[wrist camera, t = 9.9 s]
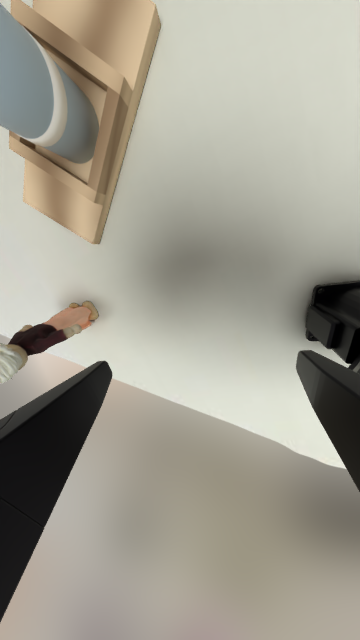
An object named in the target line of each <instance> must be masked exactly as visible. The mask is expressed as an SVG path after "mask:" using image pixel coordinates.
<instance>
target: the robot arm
mask: <svg viewBox="0 0 360 640" xmlns="http://www.w3.org/2000/svg"><path fill="white" fill-rule="evenodd" d="M319 289H322V291H321V292H318V291H319ZM306 328H307V332H306V338H307V339H308V340H309V341H320V342H321V343H322V344H323V345H324V346H325V347H326V348H327V349H332V350H333V351H334V352H335V353H336V354H338V355H339V356H340V357H341V358H342V359H343V360H344V361H345V362H346V363H347V364H351V365H350V366H349V367H348V368H346V367H344V366H342V365H340V364H338V363H336V362H334V361H332V360H330V359H328V358H326V357H324V356H322V355H320V354H318V353H316V352H314V351H311V350H303V351H299V352H298V357H297V364H296V370H297V373H298V375H299V377H300V380H301V382H302V384H303V387H304V389H305V391H306V394H307V396H308V398H309V401H310V403H311V405H312V407H313V409H314V411H315V413H316V415H317V417H318V418H319V420H320V422H321V424H322V426H323V427H324V429H325V431H326V433H327V435H328V436H329V438H330V440H331V442H332V443H333V445H334V447H335V449H336V451H337V452H338V454H339V456H340V458H341V459H342V461H343V463H344V465H345V467H346V468H347V470H348V472H349V474H350V475H351V477H352V479H353V481H354V483H355V484H356V486H357V488H358V490H359V492H360V281H352V282H343V283H334V284H324V285H318V286H316V287H315V288H314V290H313V296H312V302H311V306H310V307H309V309H308V315H307V321H306ZM311 336H313V337H311ZM310 337H311V338H310ZM111 379H112V371H111V369H110V367H109V365H108V363H107V362H106V361H98V362H96V363H94V364H93V365H91V366H89V367H88V368H86V369H84V370H83V371H81V372H80V373H78V374H76V375H75V376H73V377H71V378H69V379H68V380H66V381H65V382H63V383H61V384H59V385H58V386H56V387H54V388H53V389H51V390H49V391H48V392H46V393H44V394H43V395H41V396H39V397H37V398H36V399H34V400H33V401H31V402H29V403H27V404H26V405H24V406H22V407H21V408H19V409H18V410H16V411H14V412H12V413H11V414H9V415H7V416H6V417H4V418H2V419H1V420H0V622H1V620H2V618H3V616H4V613H5V611H6V609H7V607H8V605H9V603H10V600H11V598H12V596H13V594H14V592H15V590H16V588H17V586H18V583H19V581H20V579H21V577H22V575H23V573H24V570H25V569H26V566H27V564H28V562H29V560H30V558H31V556H32V554H33V551H34V549H35V547H36V545H37V543H38V541H39V539H40V537H41V534H42V532H43V530H44V527H45V525H46V523H47V521H48V519H49V517H50V515H51V513H52V510H53V508H54V506H55V504H56V502H57V500H58V498H59V496H60V493H61V491H62V489H63V487H64V485H65V483H66V480H67V479H68V476H69V474H70V472H71V470H72V468H73V466H74V464H75V462H76V459H77V457H78V455H79V453H80V451H81V449H82V447H83V444H84V442H85V440H86V438H87V436H88V434H89V432H90V429H91V427H92V425H93V423H94V421H95V419H96V417H97V415H98V413H99V410H100V408H101V406H102V403H103V400H104V398H105V395H106V393H107V390H108V387H109V384H110V382H111Z"/></svg>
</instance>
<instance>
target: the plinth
mask: <svg viewBox="0 0 360 640" xmlns="http://www.w3.org/2000/svg"><path fill="white" fill-rule="evenodd" d="M11 15H12V16H13V17H14V18H15V19H16V20H17V22H18V23H19V24H20V25H22V26H23V27H24V28H25V29H26V30H27V31H28V32H29V33H30V34H31V35H32V36H33V37H34V38H35V39H36V40H37V42H38V43H39V44H40V45H41V46H42V47H43V48H44V49H45V50H46V51H47V53H48V54H49V55H50V57H51V58H52V59H53V60H54V61H55V62H56V63H57V65H58V66H59V67H60V68H61V69H62V70H63V71H64V72H65V73H66V74H67V75H68V76H69V77H70V79H71V80H72V81H73V82H74V83H75V84H76V85H77V86H78V87H79V88H80V89H81V90H82V91H83V92H84V94H85V95H86V96H87V97H88V98H89V100H90V102H91V103H92V105H93V107H94V110H95V112H96V115H97V119H98V123H99V132H98V137H97V141H96V146H95V151H94V156H93V157H92V158H91V159H90V160H89V161H88V162H86V163H82V164H78V163H74V162H71V161H69V160H67V159H65V158H64V157H62V156H60V155H58V154H56V153H54V152H52V151H50V150H48V149H46V148H44V147H42V146H39V145H36V144H34V143H32V142H30V141H28V140H26V139H24V138H22V137H20V136H18V135H17V134H15V133H14V132H12V131H10V130H9V149H11V150H13V151H14V152H16V153H17V154H19V155H20V156H22V157H23V158H25V172H24V193H23V202H25V203H27V204H28V205H30V206H31V207H33V208H35V209H36V210H38V211H40V212H41V213H43V214H44V215H46V216H48V217H49V218H51V219H53V220H54V221H56V222H57V223H59V224H61V225H62V226H64V227H66V228H67V229H69V230H70V231H72V232H74V233H75V234H77V235H78V236H80V237H82V238H83V239H85V240H87V241H88V242H90V243H91V244H99V243H100V240H101V236H102V233H103V229H104V226H105V222H106V218H107V215H108V211H109V208H110V204H111V201H112V197H113V194H114V190H115V186H116V183H117V179H118V176H119V172H120V169H121V165H122V162H123V158H124V155H125V151H126V147H127V144H128V140H129V137H130V133H131V130H132V126H133V123H134V119H135V116H136V112H137V108H138V105H139V101H140V98H141V94H142V91H143V87H144V84H145V80H146V76H147V73H148V69H149V66H150V62H151V59H152V55H153V52H154V48H155V45H156V41H157V37H158V34H159V30H160V27H161V24H160V20H159V16H158V12H157V8H156V4H154V3H153V2H152V1H151V0H33V9H32V8H30V7H29V6H28V5H26V4H25V3H24V2H22V1H21V0H11Z"/></svg>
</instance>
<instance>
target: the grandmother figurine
mask: <svg viewBox="0 0 360 640" xmlns="http://www.w3.org/2000/svg"><path fill="white" fill-rule="evenodd" d="M97 318H98V312H97V311H96V309H95V307H94V306H93V304H92V303H91V302H89V301H86V302H83V304H82V307H80V306H79V305H78V304H76V303H71V304H70V306H69V308H66V309H65V310H63V311H61V312H60V313H58V314H56V315H55V316H53V317H52V318H51V319H50V320H48V321H47V322H45V323H42V324H38V325H36V326H34V327H33V326H31V325H25V326H24V327H23V328H22V329H21V330H20V331H19V332H17V333H15V335H14V336H13V338H12V339H11V341H10V342H9V344H8V345H4V344H2V343H0V384H1V383H5V382H6V381H8V380H9V379H11V378H12V377H13V375H14V374H15V373H17V372H18V370H20V369H21V368H22V367H23V366H24V365H25V363H26V362H27V360H28V356H29V355H33V354H38V353H41V352H44V351H45V350H47V349H48V348H49V347H51V346H53V345H55V344H57V343H60V342H62V341H65V340H67V339H68V338H70V337H72V336H73V335H74V334H78V333H80V332H81V331H82V330H84V329H86V328H87V327H89V326H91V324H92V323H91V322H90V321H89V320H94V319H97Z"/></svg>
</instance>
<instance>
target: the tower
mask: <svg viewBox="0 0 360 640" xmlns="http://www.w3.org/2000/svg"><path fill="white" fill-rule="evenodd" d="M0 126H2V127H4V128H6V129H8V130H10V131H12V132H14V133H15V134H17V135H18V136H20V137H22V138H24V139H26V140H28V141H30V142H32V143H34V144H36V145H39V146H42V147H44V148H46V149H48V150H50V151H52V152H54V153H56V154H58V155H60V156H62V157H64V158H65V159H67V160H69V161H71V162H74V163H78V164H82V163H86V162H88V161H89V160H90V159H91V158H92V157H93V156H94V151H95V146H96V141H97V137H98V132H99V123H98V119H97V115H96V112H95V110H94V107H93V105H92V103H91V102H90V100H89V98H88V97H87V96H86V95H85V94H84V92H83V91H82V90H81V89H80V88H79V87H78V86H77V85H76V84H75V83H74V82H73V81H72V80H71V79H70V77H69V76H68V75H67V74H66V73H65V72H64V71H63V70H62V69H61V68H60V67H59V66H58V65H57V63H56V62H55V61H54V60H53V59H52V58H51V57H50V55H49V54H48V53H47V51H46V50H45V49H44V48H43V47H42V46H41V45H40V44H39V43H38V42H37V40H36V39H35V38H34V37H33V36H32V35H31V34H30V33H29V32H28V31H27V30H26V29H25V28H24V27H23V26H22V25H20V24H19V23H18V22H17V20H16V19H15V18H14V17H13V16H12V15H11V14H10V13H9V12H8V11H7V10H6V9H5V8H4V6H3V5H2V4H1V3H0Z"/></svg>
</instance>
